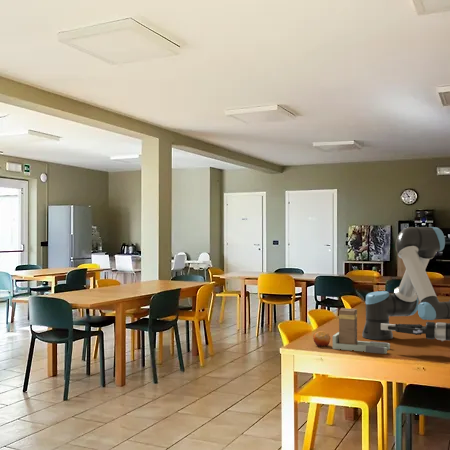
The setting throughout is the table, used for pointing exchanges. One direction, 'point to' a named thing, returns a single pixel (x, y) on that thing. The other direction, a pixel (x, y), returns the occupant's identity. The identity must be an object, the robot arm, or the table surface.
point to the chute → (361, 346)
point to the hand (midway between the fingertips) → (381, 326)
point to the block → (348, 326)
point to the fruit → (321, 338)
